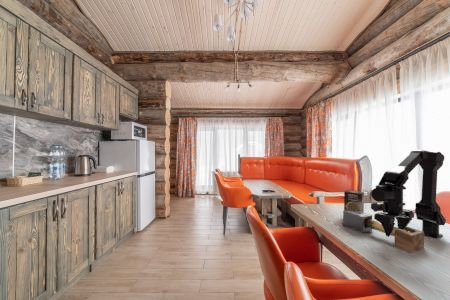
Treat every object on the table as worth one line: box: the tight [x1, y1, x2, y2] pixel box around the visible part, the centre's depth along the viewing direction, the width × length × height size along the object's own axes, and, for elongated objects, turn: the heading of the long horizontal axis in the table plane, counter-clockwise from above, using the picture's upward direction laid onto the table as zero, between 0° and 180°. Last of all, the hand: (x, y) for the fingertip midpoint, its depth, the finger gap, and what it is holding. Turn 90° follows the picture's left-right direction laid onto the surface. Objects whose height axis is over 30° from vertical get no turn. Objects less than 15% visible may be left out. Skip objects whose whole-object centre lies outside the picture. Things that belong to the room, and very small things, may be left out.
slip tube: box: [365, 218, 412, 238], centre depth 96 cm, size 4×20×4 cm, turn 23°
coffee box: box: [343, 189, 365, 213], centre depth 121 cm, size 9×6×16 cm
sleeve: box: [342, 209, 373, 234], centre depth 108 cm, size 7×11×8 cm, turn 23°
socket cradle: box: [394, 226, 425, 254], centre depth 87 cm, size 9×6×7 cm, turn 113°
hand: (394, 234), depth 92 cm, fingers open, 9 cm apart
